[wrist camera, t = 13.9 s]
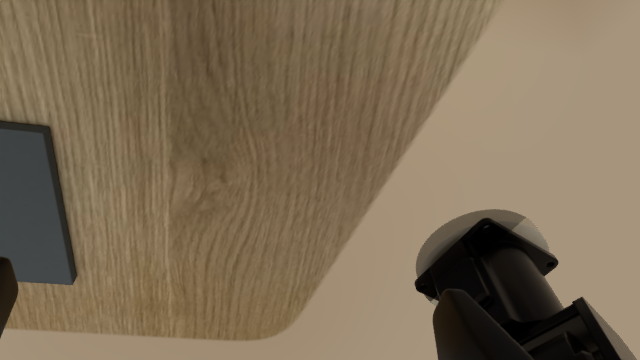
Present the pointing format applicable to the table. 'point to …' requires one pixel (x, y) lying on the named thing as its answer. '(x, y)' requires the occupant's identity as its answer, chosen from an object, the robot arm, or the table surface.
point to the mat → (32, 207)
